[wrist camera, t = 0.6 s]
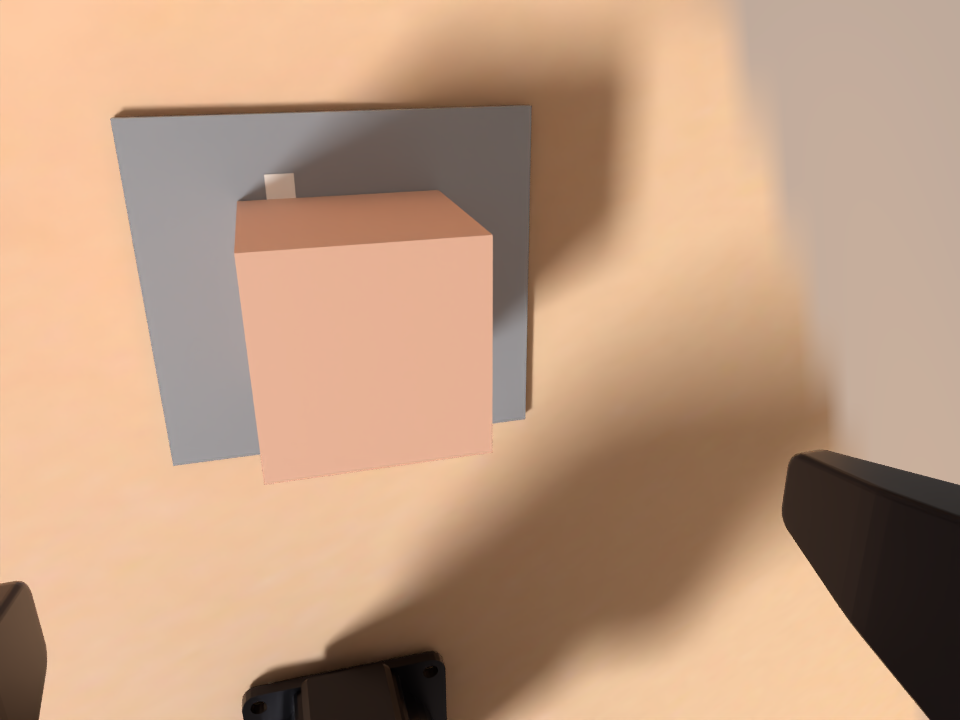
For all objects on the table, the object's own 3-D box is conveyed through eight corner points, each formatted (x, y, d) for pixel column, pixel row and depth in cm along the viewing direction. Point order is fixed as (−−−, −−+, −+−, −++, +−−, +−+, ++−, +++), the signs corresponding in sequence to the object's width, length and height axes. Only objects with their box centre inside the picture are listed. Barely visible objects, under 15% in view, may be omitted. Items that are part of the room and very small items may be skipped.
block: (442, 367, 22) (492, 451, 18) (260, 388, 21) (264, 484, 16) (438, 189, 20) (492, 234, 16) (237, 201, 19) (233, 253, 14)
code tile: (522, 415, 24) (525, 419, 23) (174, 461, 21) (173, 466, 21) (528, 104, 20) (531, 105, 20) (111, 117, 18) (110, 118, 18)
